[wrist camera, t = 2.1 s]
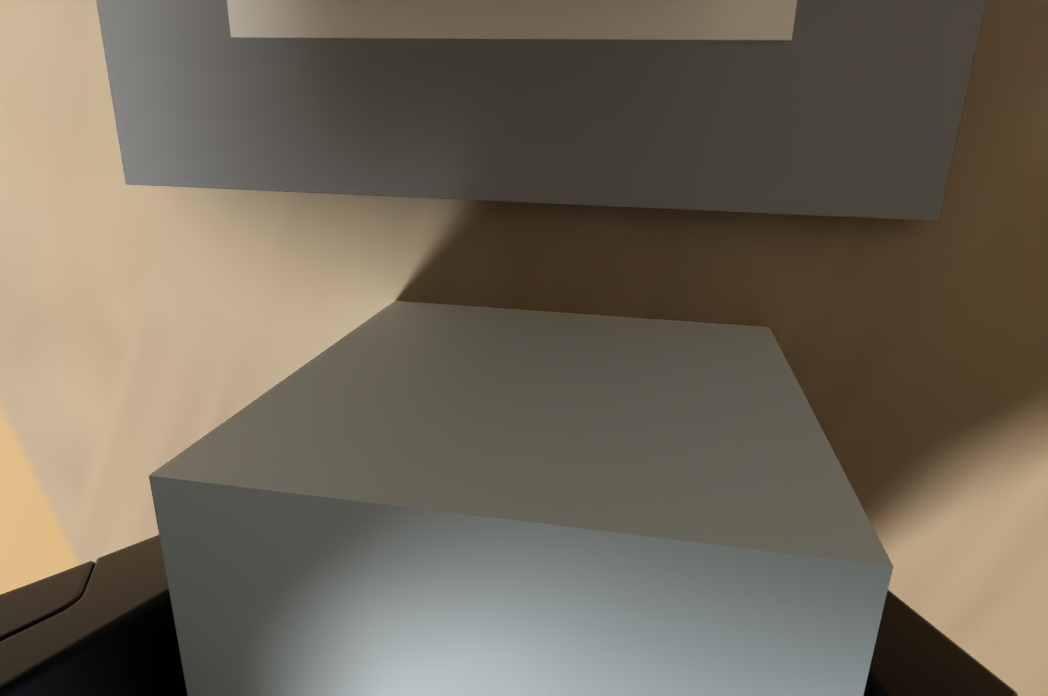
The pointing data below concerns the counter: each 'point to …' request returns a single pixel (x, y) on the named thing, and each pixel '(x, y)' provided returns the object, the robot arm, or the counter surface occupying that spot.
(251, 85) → the pad
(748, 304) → the counter surface
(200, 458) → the bluegrey block
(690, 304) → the counter surface
